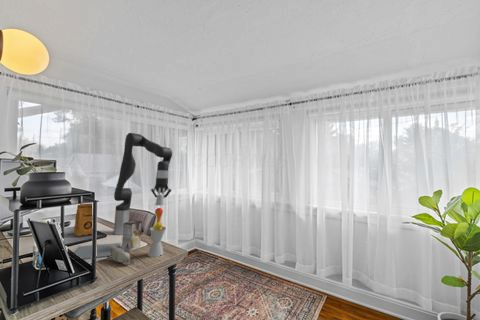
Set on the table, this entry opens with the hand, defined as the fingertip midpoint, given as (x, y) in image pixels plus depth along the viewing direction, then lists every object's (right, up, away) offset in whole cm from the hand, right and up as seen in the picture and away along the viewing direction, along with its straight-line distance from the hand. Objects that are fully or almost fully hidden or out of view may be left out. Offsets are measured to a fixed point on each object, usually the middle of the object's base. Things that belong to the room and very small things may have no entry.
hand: (160, 203), depth 140 cm
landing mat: (-30, -24, -16) cm, 42 cm away
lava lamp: (+3, -27, -15) cm, 31 cm away
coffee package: (-57, -24, +11) cm, 63 cm away
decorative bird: (-12, -26, -27) cm, 39 cm away
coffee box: (-15, -26, -8) cm, 31 cm away
